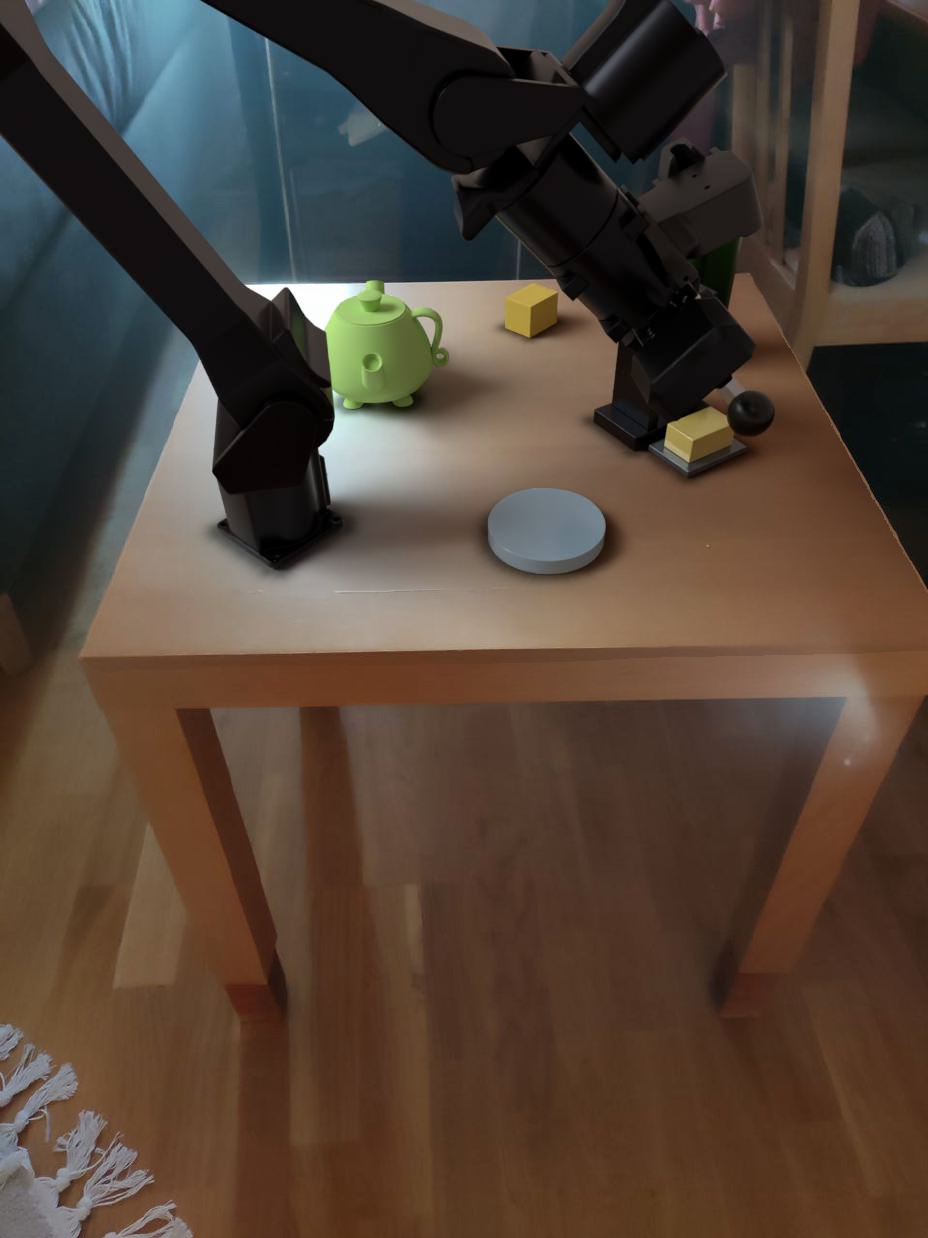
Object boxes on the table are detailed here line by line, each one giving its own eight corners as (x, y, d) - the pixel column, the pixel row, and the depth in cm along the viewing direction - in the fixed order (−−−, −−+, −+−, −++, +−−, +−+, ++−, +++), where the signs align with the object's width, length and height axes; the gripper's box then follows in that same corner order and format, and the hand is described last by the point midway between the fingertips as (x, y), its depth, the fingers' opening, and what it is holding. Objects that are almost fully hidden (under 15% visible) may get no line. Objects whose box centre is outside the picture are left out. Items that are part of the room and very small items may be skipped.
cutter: (710, 419, 71) (736, 288, 64) (633, 451, 68) (651, 317, 61) (667, 392, 74) (688, 264, 67) (592, 422, 71) (605, 291, 64)
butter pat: (529, 338, 82) (530, 306, 80) (504, 328, 83) (505, 297, 81) (556, 322, 84) (558, 291, 82) (531, 313, 85) (533, 282, 83)
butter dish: (745, 451, 68) (752, 423, 66) (687, 477, 66) (692, 449, 64) (705, 426, 71) (710, 398, 69) (647, 450, 68) (652, 421, 67)
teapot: (472, 386, 76) (471, 289, 70) (374, 443, 70) (364, 343, 64) (381, 345, 81) (373, 252, 75) (283, 394, 75) (266, 298, 69)
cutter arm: (769, 437, 63) (792, 408, 61) (737, 452, 62) (758, 422, 59) (664, 311, 67) (681, 278, 65) (632, 322, 66) (647, 289, 63)
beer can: (695, 373, 76) (721, 231, 68) (645, 352, 79) (664, 213, 71) (731, 352, 79) (760, 212, 71) (681, 332, 82) (703, 196, 73)
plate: (555, 591, 57) (556, 577, 56) (463, 539, 61) (463, 526, 60) (627, 532, 61) (629, 518, 60) (537, 487, 65) (537, 473, 64)
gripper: (757, 164, 41) (903, 364, 50) (639, 63, 54) (770, 235, 63) (577, 339, 45) (739, 493, 54) (508, 207, 59) (648, 348, 67)
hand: (725, 381), depth 60 cm, fingers closed
